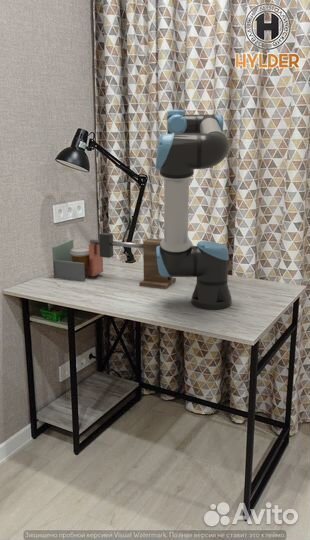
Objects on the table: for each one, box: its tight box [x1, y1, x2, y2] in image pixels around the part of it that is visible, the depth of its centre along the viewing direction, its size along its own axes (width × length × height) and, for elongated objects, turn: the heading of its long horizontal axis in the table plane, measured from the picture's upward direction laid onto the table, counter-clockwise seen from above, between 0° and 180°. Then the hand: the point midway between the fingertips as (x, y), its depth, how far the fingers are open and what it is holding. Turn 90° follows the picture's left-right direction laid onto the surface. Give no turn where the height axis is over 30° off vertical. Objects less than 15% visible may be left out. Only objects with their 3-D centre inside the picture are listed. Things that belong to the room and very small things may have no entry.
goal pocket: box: [51, 239, 86, 282], centre depth 240 cm, size 16×15×14 cm
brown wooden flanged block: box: [138, 238, 177, 290], centre depth 225 cm, size 12×12×19 cm
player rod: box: [85, 232, 143, 277], centre depth 231 cm, size 8×30×18 cm, turn 69°
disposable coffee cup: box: [70, 246, 90, 278], centre depth 239 cm, size 10×10×12 cm
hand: (175, 198), depth 230 cm, fingers open, 13 cm apart
